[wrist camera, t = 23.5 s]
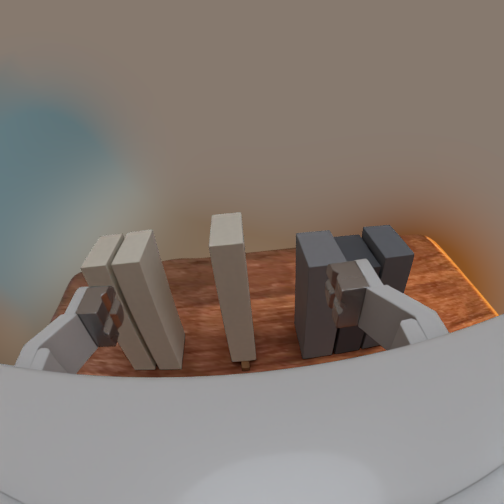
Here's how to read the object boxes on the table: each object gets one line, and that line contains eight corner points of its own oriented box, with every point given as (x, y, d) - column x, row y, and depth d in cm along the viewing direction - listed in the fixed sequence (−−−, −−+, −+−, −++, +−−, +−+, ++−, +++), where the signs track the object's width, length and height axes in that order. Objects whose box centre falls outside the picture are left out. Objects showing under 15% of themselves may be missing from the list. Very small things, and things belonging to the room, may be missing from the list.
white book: (256, 360, 29) (243, 242, 21) (231, 362, 29) (208, 246, 21) (252, 324, 33) (241, 211, 25) (231, 326, 33) (211, 215, 25)
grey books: (386, 343, 29) (414, 254, 23) (302, 359, 29) (308, 267, 22) (370, 311, 34) (389, 224, 27) (294, 323, 33) (295, 233, 27)
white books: (249, 370, 29) (233, 257, 21) (133, 374, 28) (76, 272, 21) (246, 325, 34) (232, 216, 26) (142, 332, 34) (102, 232, 26)
